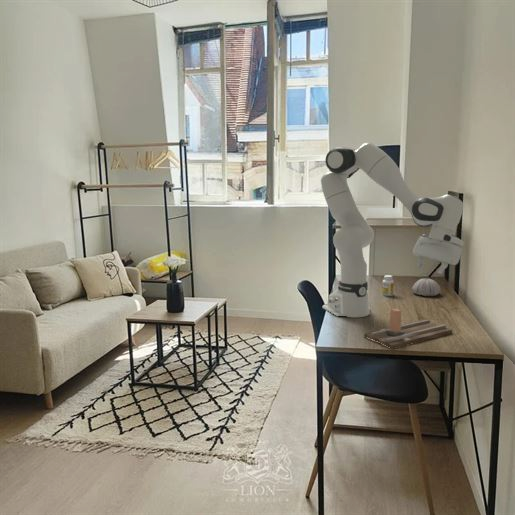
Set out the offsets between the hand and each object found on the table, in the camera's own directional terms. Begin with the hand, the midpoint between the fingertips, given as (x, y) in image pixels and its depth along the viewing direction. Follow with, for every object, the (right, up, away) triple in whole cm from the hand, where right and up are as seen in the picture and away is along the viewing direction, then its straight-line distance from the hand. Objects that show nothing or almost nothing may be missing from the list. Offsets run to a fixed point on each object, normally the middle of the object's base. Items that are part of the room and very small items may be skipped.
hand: (429, 271), depth 177 cm
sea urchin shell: (+18, -13, +54) cm, 59 cm away
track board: (-10, -24, -4) cm, 26 cm away
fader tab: (-16, -23, -8) cm, 29 cm away
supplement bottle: (-1, -14, +54) cm, 56 cm away
